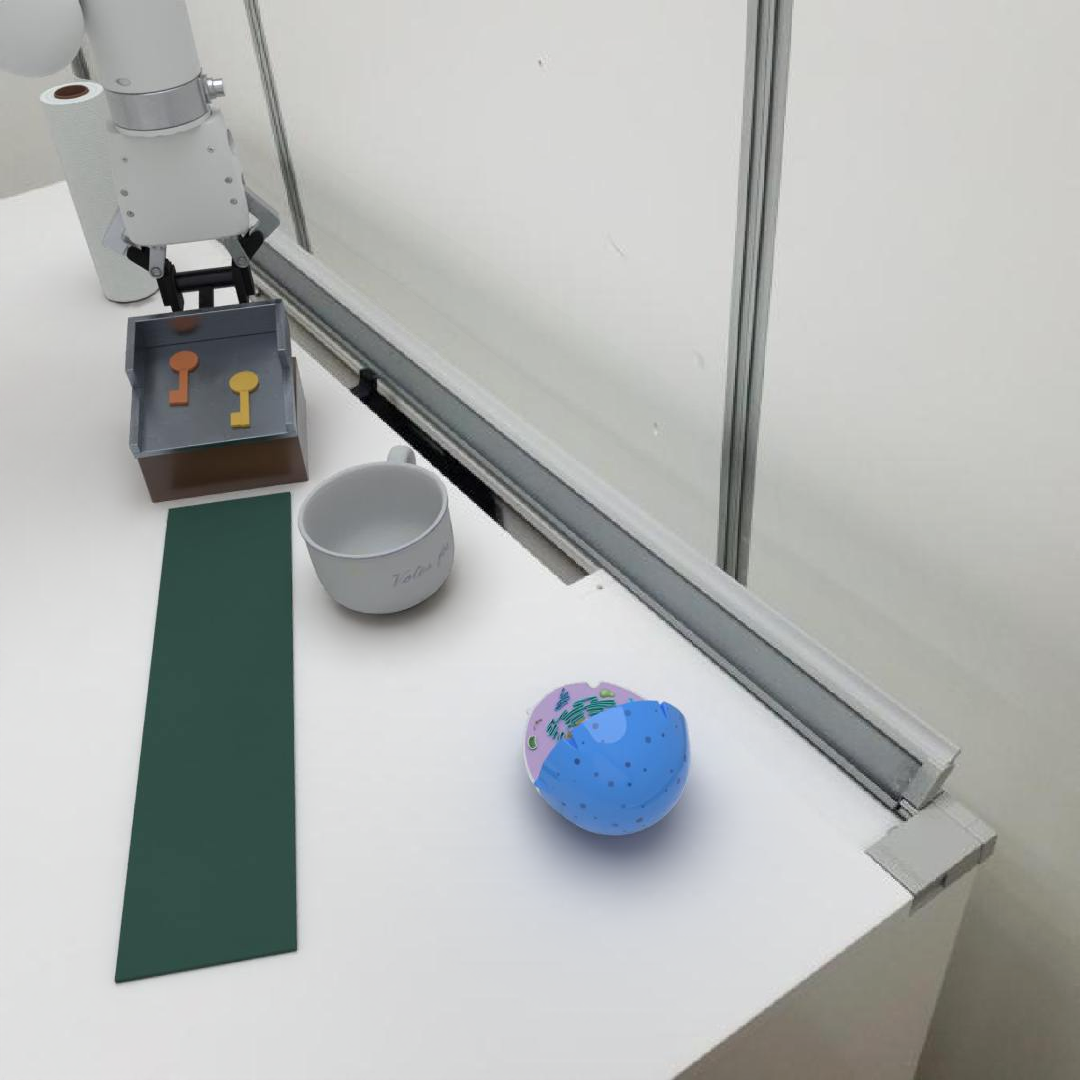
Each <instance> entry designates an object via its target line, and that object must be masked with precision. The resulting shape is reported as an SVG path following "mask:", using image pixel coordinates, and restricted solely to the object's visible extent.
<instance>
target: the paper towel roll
mask: <svg viewBox="0 0 1080 1080" xmlns="http://www.w3.org/2000/svg"><path fill="white" fill-rule="evenodd" d="M73 79H74V82H67V83H63V84H60V85H55V86H53V87H51V88H48V89H45V91H43V92H42V93H40V95H39V98H38V100H39V103H40V105H41V106H40V107H41V109H42V112H43V115H44V118H45V121H46V124H47V127H48V130H49V133H50V137H51V139H52V142H53V145H54V149H55V152H56V155H57V157H58V161H59V164H60V167H61V169H62V173H63V176H64V179H65V181H66V184H67V187H68V191H69V193H70V196H71V201H72V203H73V206H74V210H75V212H76V215H77V219H78V221H79V224H80V228H81V230H82V233H83V236H84V239H85V243H86V244H87V248H88V252H89V254H90V257H91V261H92V263H93V267H94V270H95V272H96V275H97V278H98V281H99V285H100V287H101V291H102V293H103V294H104V296H105V297H106V298H107V299H108V300H111V301H113V302H119V303H121V302H123V303H127V302H135V301H140V300H142V299H145V298H147V297H149V296H151V295H153V294H154V293H156V292H157V291H158V290H159V287H158V284H157V280H156V278H153V277H152V276H151V275H150V274H149V271H147V270H145V269H144V268H142V267H140V266H139V265H137V264H135V263H134V262H132V261H130V260H129V259H128V258H127V257H126V256H124V255H121V254H119V253H117V252H115V251H113V250H111V249H109V248H107V247H105V246H104V245H103V244H102V238H103V234H104V232H105V230H106V228H107V226H108V224H109V222H110V220H111V218H112V217H113V215H114V213H115V211H116V209H117V207H118V205H119V202H118V198H117V193H116V189H115V184H114V179H113V174H112V169H111V164H110V158H109V151H108V142H107V128H106V122H107V120H108V119H109V118H110V117H112V116H111V113H110V110H109V106H108V103H107V99H106V96H105V93H104V89H103V85H102V84H100V83H98V82H96V81H94V80H92V79H85V78H80V77H77V76H76V75H74V74H73ZM124 234H125V235H126V236H127V237H128V234H127V232H126V229H125V231H124ZM147 247H148V246H147ZM149 248H150V247H149Z"/></svg>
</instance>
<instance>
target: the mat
mask: <svg viewBox="0 0 1080 1080" xmlns="http://www.w3.org/2000/svg"><path fill="white" fill-rule="evenodd" d="M166 519H167V520H166V528H165V536H164V546H163V554H162V562H161V572H160V580H159V587H158V588H159V590H158V597H157V598H158V599H157V606H156V614H155V622H154V623H155V624H154V632H153V640H152V650H151V660H150V665H149V666H150V667H149V674H148V675H149V676H148V686H147V693H146V703H145V711H144V720H143V726H142V727H143V729H142V737H141V746H140V755H139V764H138V772H137V782H136V791H135V799H134V806H133V807H134V808H133V815H132V816H133V818H132V825H131V826H132V827H131V833H130V842H129V849H128V850H129V852H128V860H127V866H126V867H127V868H126V876H125V877H126V878H125V886H124V893H123V902H122V903H123V904H122V912H121V919H120V928H119V929H120V930H119V938H118V947H117V956H116V965H115V972H114V973H115V974H114V982H115V984H120V983H125V982H131V981H135V980H142V979H147V978H152V977H158V976H163V975H164V976H165V975H171V974H175V973H180V972H185V971H186V972H187V971H192V970H196V969H201V968H208V967H213V966H219V965H223V964H231V963H234V962H235V963H236V962H240V961H247V960H252V959H257V958H263V957H268V956H273V955H274V956H275V955H279V954H285V953H291V952H297V951H298V939H297V938H298V932H297V931H298V930H297V929H298V928H297V927H298V925H297V923H298V922H297V868H296V867H297V858H296V857H297V856H296V855H297V854H296V853H297V851H296V846H297V845H296V782H295V714H294V713H295V710H294V709H295V708H294V707H295V706H294V705H295V704H294V703H295V702H294V701H295V700H294V635H293V634H294V633H293V631H294V630H293V627H294V626H293V563H292V561H293V560H292V559H293V557H292V555H293V553H292V494H291V491H284V492H283V491H282V492H278V493H269V494H261V495H256V496H248V497H241V498H234V499H227V500H220V501H213V502H205V503H197V504H191V505H184V506H179V507H171V508H168V510H167V517H166Z"/></svg>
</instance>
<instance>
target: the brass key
mask: <svg viewBox="0 0 1080 1080" xmlns="http://www.w3.org/2000/svg"><path fill="white" fill-rule="evenodd" d="M258 384H259V380H258V377H257V375H256V374H254V373H252V372H248V371H244V372H239V373H237V374H235V375H234V376H233V377H232V378H231V379H230V382H229V385H230V388H231V390H232V391H234V392H235V393H238V394H240V412H236V413H231V427H232V428H233V427H240V426H241V427H247V426H250V408H249V393H250V392H252V391H253V390H255V389H256V388H257V386H258Z"/></svg>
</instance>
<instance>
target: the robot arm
mask: <svg viewBox="0 0 1080 1080" xmlns="http://www.w3.org/2000/svg"><path fill="white" fill-rule="evenodd" d="M193 33H194V32H193V28H192V24H191V20H190V15H189V12H188V7H187V2H186V0H0V71H2V72H5V73H7V74H11V75H14V76H16V77H17V76H18V77H23V78H30V79H31V78H32V79H34V78H44V77H48V76H51V75H55V74H56V73H59V72H61V71H63V70H65V68H66V67H68V66H69V65H70V64H71V63H72V62H73V61H74V60H75V58H76V57H77V55H78V54H79V51H80V50H81V47H82V44H83V41H84V35H86V36H87V38H88V41H89V45H90V47H91V48H90V49H91V52H92V54H93V58H94V61H95V64H96V68H97V72H98V75H99V78H100V82H101V86H103V89H104V93H105V96H106V99H107V103H108V106H109V110H110V113H111V116H112V117H110V118H109V119H108V120H107V122H106V128H107V142H108V151H109V158H110V164H111V169H112V174H113V179H114V184H115V189H116V193H117V198H118V202H119V205H118V207H117V209H116V211H115V213H114V215H113V217H112V218H111V220H110V222H109V224H108V226H107V228H106V230H105V232H104V234H103V238H102V244H103V245H104V246H105V247H107V248H109V249H111V250H113V251H115V252H117V253H119V254H121V255H124V256H126V257H127V258H128V259H129V260H130V261H132V262H134V263H135V264H137V265H139V266H140V267H142V268H144V269H145V270H147V271H149V274H150V275H151V276H152V277H153V278H156V280H157V284H158V287H159V288H158V291H159V293H160V297H161V301H162V303H163V306H164V307H170V308H171V312H177V311H185V310H184V308H185V297H184V295H183V294H184V293H178V291H177V288H176V284H175V273H176V272H177V270H176V265H175V264H174V263H172V260H171V261H170V259H168V258H167V247H168V246H170V245H171V246H172V245H180V244H188V243H196V242H197V243H198V242H205V241H213V240H219V239H220V240H221V242H222V244H223V245H224V247H225V249H226V251H227V252H228V254H229V255H230V257H231V263H230V266H231V273H232V277H233V281H234V285H235V287H234V289H235V293H236V298H237V300H238V304H241V303H249V302H250V296H255V295H256V287H255V282H254V276H253V273H252V269H251V265H250V261H251V260H252V258H254V256H255V254H256V253H258V251H259V249H260V248H261V246H262V245H263V244H264V241H266V239H268V238H269V237H270V236H271V234H273V233H274V231H275V230H276V229H277V228H278V227H279V226H280V224H281V214H280V212H279V211H278V210H276V209H275V208H274V207H273V206H271V205H270V203H268V202H267V201H265V200H264V199H263V198H261V197H260V196H259V195H258V194H257V193H256V192H254V191H253V190H252V189H251V188H250V187H248V185H247V182H246V179H245V174H244V171H243V167H242V164H241V163H242V162H241V160H240V157H239V154H238V153H239V152H238V149H237V148H236V143H235V141H234V138H233V135H232V132H231V129H230V127H229V124H228V122H227V119H226V117H225V114H224V113H223V111H222V109H221V106H220V105H219V104H216V103H213V100H217V98H221V97H223V98H224V97H226V96H227V95H226V87H225V83H224V80H223V77H219V78H213V77H208V74H205V73H204V70H203V67H202V66H201V63H200V60H199V54H198V51H197V45H196V42H195V41H196V40H195V37H194V34H193ZM250 214H251V215H252V216H254V217H255V218H256V219H257V221H256V222H255V224H254V225H252V226H250ZM125 229H126V232H127V234H128V237H127V236H126V235H125V234H124V231H125ZM244 233H245V234H244ZM147 246H148V247H147ZM149 247H150V248H149Z"/></svg>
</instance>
